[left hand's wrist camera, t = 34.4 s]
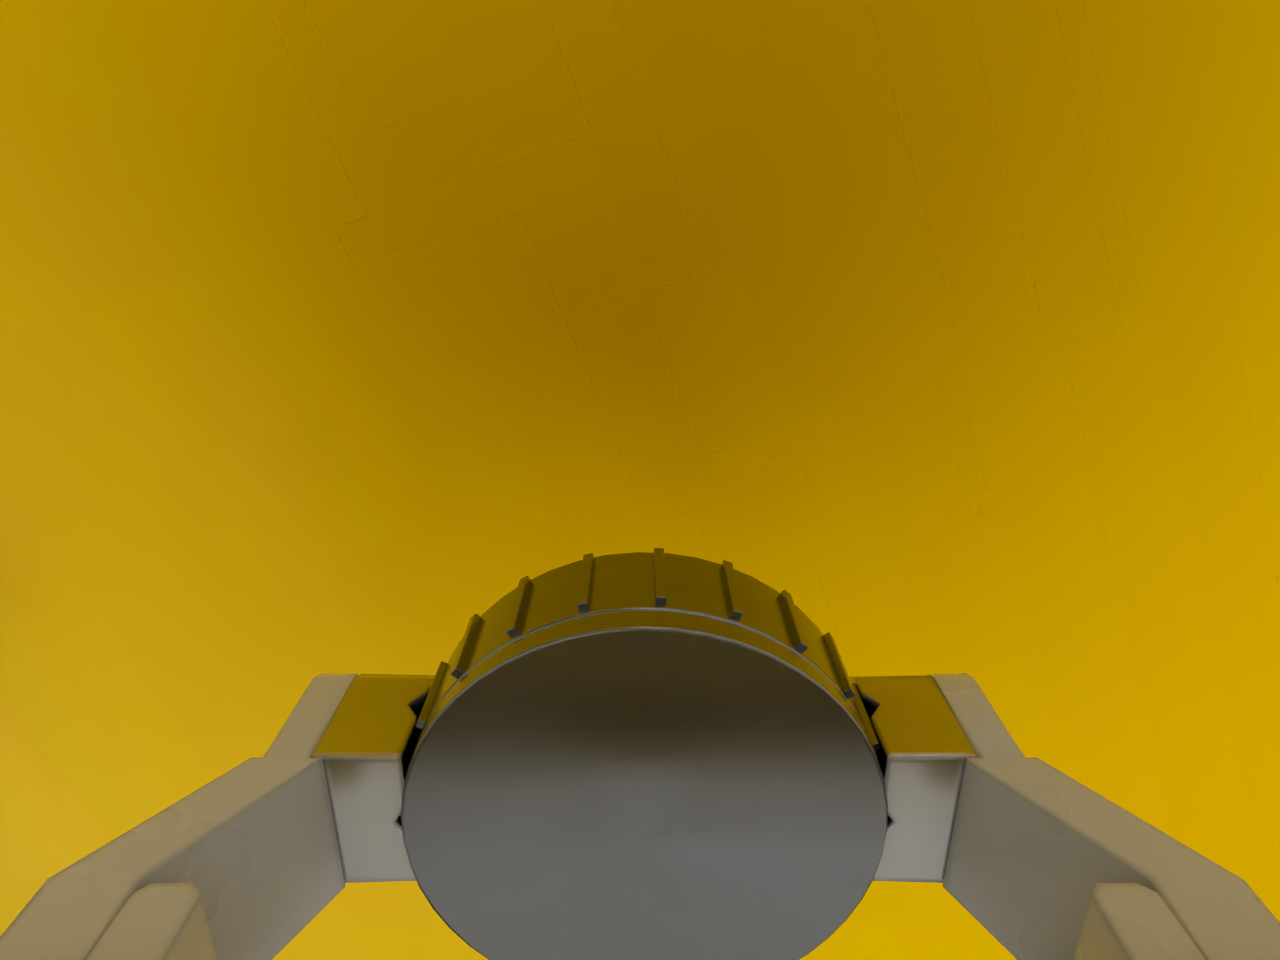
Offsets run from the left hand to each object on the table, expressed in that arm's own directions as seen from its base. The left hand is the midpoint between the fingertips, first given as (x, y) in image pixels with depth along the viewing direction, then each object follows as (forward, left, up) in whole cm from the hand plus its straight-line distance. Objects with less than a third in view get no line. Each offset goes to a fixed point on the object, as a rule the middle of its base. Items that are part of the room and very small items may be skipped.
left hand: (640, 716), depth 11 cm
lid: (0, 0, +2) cm, 2 cm away
